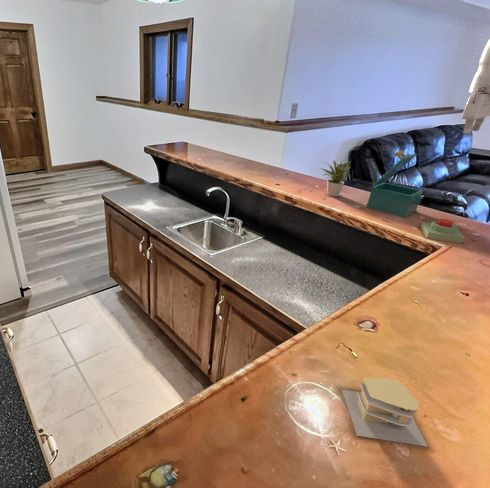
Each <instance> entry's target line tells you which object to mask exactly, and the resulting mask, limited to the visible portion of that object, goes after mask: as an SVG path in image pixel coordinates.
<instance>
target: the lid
mask: <svg viewBox="0 0 490 488" xmlns="http://www.w3.org/2000/svg"><path fill="white" fill-rule="evenodd" d="M393 155H394V157H397V158H398V159H400V160H398V161H397V162H396V164H394V165H393V166H392V167H390V168H389V170H387V171H386V172H385V173H384V174H383V175H382V176H380V177H379V178H378V179H377V180H376V181H375V182H373V184H371V186H372V187H374V186H377V185H379V184H382V183H387V181H389V180H390V179H391V178H392V177H393V176H394V175H395V174H397V173H398V172H399V171H400V170H401V169H402V168H403V167H405V166H406V165H407V164H408V163H409V162H410V161H412V160H413V159H414V158H415V157H416V156H417V153H413V154H409V155H406V154H405V152H404V150H398V151H396V152H394V154H393Z"/></svg>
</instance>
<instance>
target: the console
mask: <svg viewBox="0 0 490 488" xmlns="http://www.w3.org/2000/svg"><path fill="white" fill-rule="evenodd" d="M437 222H438V220H433V221H431V222H425V221H424V222H421V223H420V226H419V227H420V230H421V231H422V233H423V235H424V236H425V238H426V239H430V240H437V241H444V242H445V241H446V242H452V243H460V244H462V243H463V241H464V239H465V236H464V235H463V234H462V233H461V232H460V230H459V228H458V226H457V225H456V224H454V223H452V225H451V227H443V226H439V225H437Z"/></svg>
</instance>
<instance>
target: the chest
mask: <svg viewBox="0 0 490 488" xmlns="http://www.w3.org/2000/svg"><path fill="white" fill-rule="evenodd" d="M423 192H424V190H422V189H418V188H413V187H407V186H403V185H399V184H395V183H389V182H384V183H382V184H379V185H376V186H374V187H373V186H372V187H371V191H370V194H369V197H368V201H367V205H366V208H367V209H371V210H375V211H379V212H383V213H386V214H390V215H394V216H397V217H402V218H406V217H408V216H410V215H411V214H414V213H416V212H417V210H418V207H419V204H420V201H421V198H422V194H423Z"/></svg>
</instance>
